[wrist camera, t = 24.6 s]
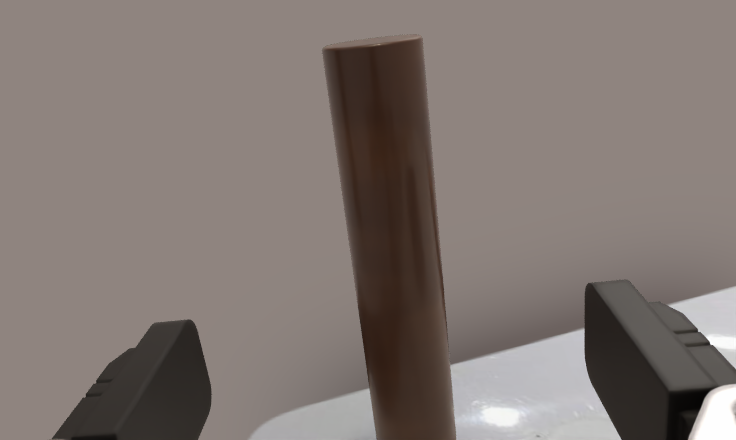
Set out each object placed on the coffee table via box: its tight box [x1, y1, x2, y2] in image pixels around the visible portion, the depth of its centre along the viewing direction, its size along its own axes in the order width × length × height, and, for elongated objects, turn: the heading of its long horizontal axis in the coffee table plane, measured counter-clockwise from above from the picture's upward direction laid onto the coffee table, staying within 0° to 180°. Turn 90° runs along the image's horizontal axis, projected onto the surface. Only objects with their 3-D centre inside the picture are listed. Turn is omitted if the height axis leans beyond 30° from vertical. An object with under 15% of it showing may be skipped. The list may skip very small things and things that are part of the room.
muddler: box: [322, 34, 456, 440], centre depth 21 cm, size 4×4×17 cm
